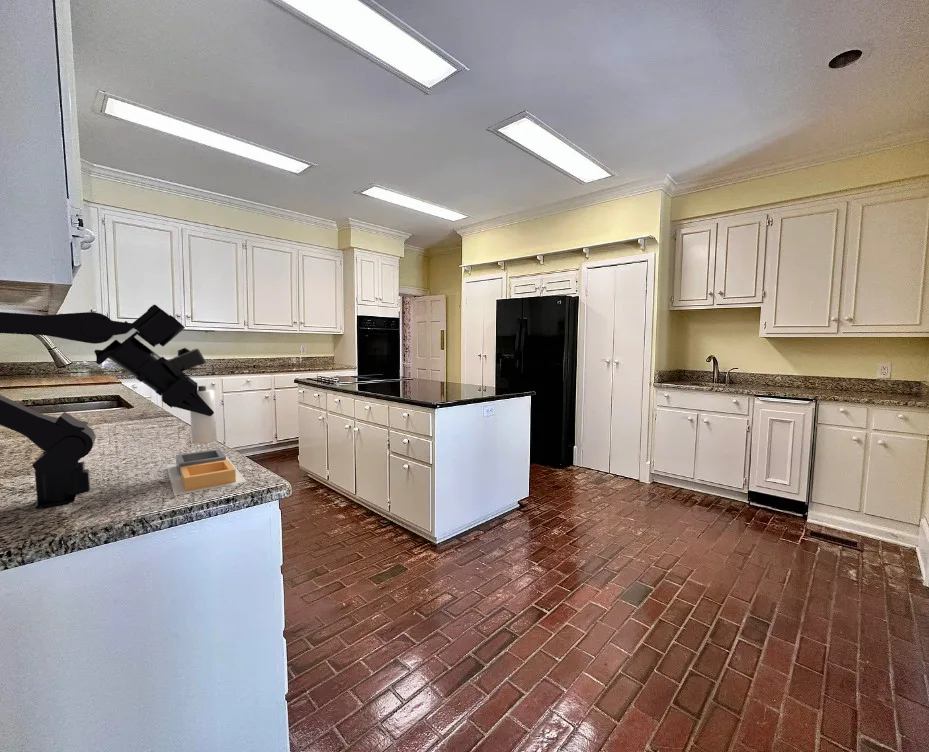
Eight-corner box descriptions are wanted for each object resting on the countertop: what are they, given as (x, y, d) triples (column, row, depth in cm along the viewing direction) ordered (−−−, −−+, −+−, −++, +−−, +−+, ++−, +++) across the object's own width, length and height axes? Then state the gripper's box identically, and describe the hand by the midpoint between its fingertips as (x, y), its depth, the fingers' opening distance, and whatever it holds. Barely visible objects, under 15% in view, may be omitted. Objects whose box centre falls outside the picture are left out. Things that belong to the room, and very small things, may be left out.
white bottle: (191, 444, 86) (188, 387, 85) (192, 440, 90) (189, 385, 89) (216, 442, 88) (214, 386, 87) (216, 437, 92) (214, 384, 91)
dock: (174, 500, 76) (173, 482, 75) (166, 470, 93) (165, 455, 92) (247, 486, 83) (246, 469, 83) (227, 460, 100) (226, 446, 100)
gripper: (180, 335, 78) (248, 389, 85) (173, 335, 92) (231, 381, 100) (129, 378, 73) (205, 431, 81) (130, 371, 88) (194, 417, 96)
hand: (210, 412), depth 90 cm, fingers closed on white bottle, 5 cm apart
